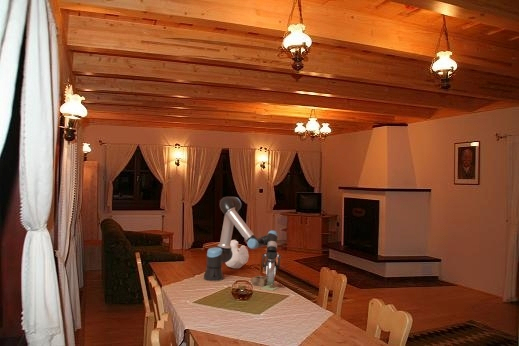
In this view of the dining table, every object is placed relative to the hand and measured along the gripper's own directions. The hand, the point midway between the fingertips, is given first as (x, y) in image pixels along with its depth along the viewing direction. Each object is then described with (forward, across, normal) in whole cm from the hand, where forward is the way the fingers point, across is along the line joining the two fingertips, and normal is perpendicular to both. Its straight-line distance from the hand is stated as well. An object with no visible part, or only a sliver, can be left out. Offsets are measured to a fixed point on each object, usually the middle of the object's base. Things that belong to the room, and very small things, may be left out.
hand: (270, 274), depth 290 cm
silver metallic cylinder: (+3, 0, -8) cm, 8 cm away
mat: (+5, 0, -10) cm, 11 cm away
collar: (-3, +7, -18) cm, 19 cm away
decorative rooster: (-44, +32, -59) cm, 80 cm away
